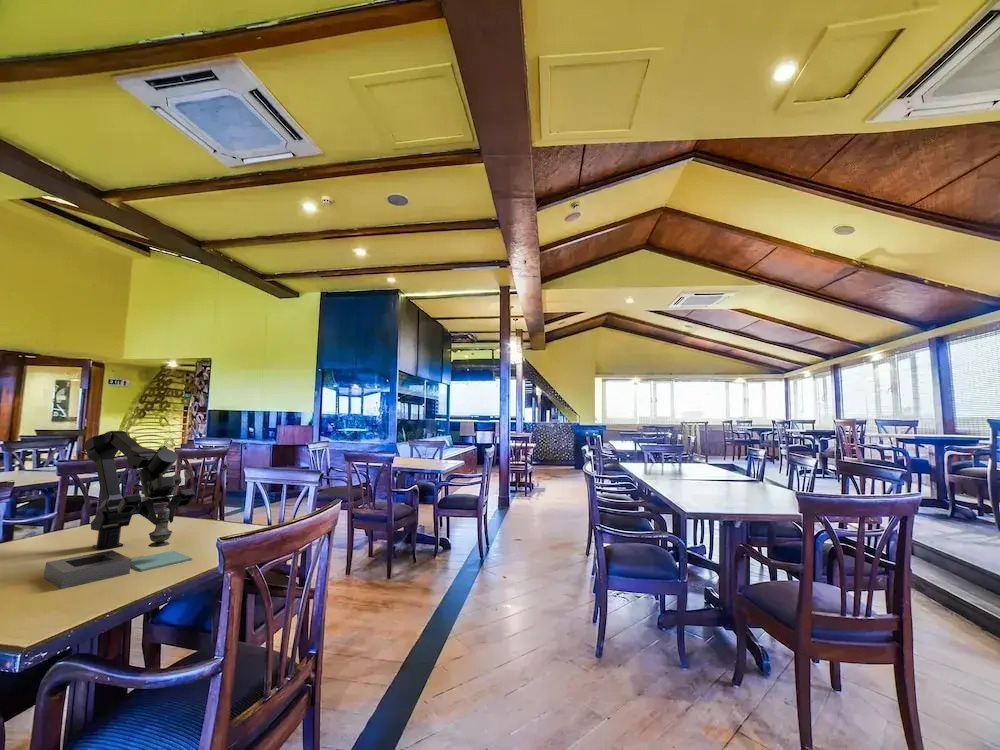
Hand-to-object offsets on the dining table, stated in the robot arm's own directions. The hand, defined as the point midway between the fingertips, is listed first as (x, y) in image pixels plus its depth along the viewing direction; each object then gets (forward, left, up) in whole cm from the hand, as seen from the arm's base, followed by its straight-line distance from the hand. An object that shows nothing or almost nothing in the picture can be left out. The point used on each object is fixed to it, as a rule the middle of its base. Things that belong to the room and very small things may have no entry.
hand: (164, 523), depth 132 cm
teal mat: (-1, 0, -12) cm, 12 cm away
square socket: (-2, -16, -12) cm, 20 cm away
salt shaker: (-1, 0, -7) cm, 7 cm away
